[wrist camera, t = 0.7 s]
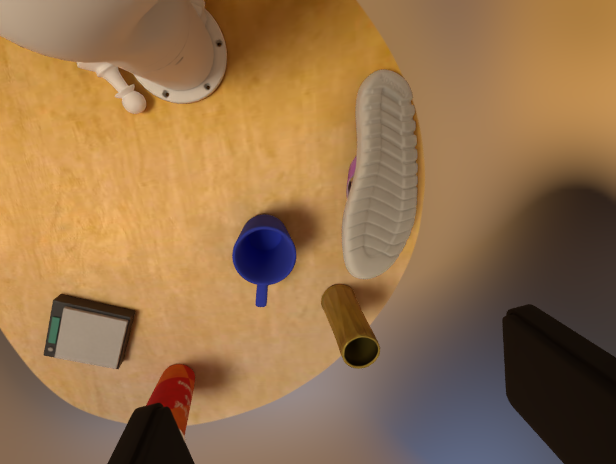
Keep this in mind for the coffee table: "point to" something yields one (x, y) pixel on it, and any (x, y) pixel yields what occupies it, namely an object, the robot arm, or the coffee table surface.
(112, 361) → the scale
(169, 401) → the paper cup
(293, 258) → the mug
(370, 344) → the vase
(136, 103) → the chess pawn
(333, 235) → the coffee table surface
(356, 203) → the sandal
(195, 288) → the coffee table surface
